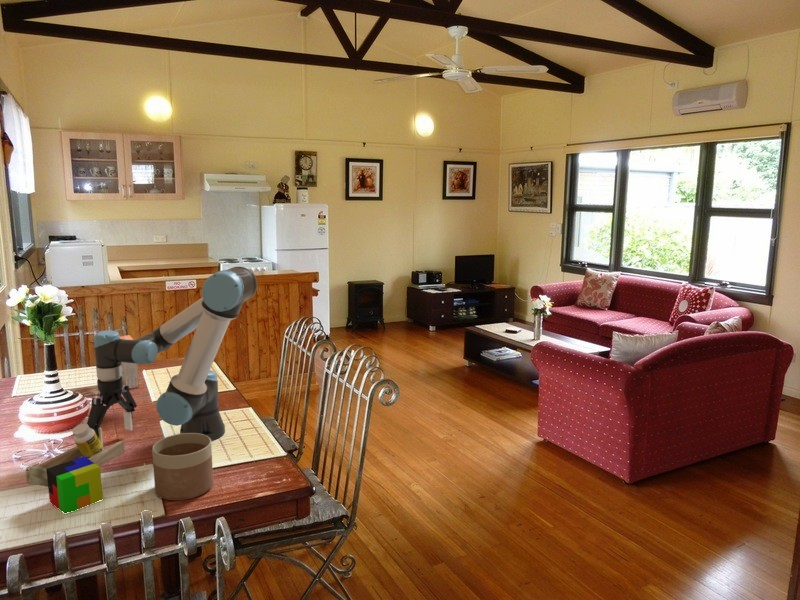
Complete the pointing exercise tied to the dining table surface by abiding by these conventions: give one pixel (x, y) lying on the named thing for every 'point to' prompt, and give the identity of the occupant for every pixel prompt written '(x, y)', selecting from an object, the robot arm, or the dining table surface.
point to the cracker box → (129, 371)
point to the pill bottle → (87, 440)
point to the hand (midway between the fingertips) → (114, 437)
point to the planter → (182, 466)
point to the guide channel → (40, 474)
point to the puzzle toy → (74, 484)
